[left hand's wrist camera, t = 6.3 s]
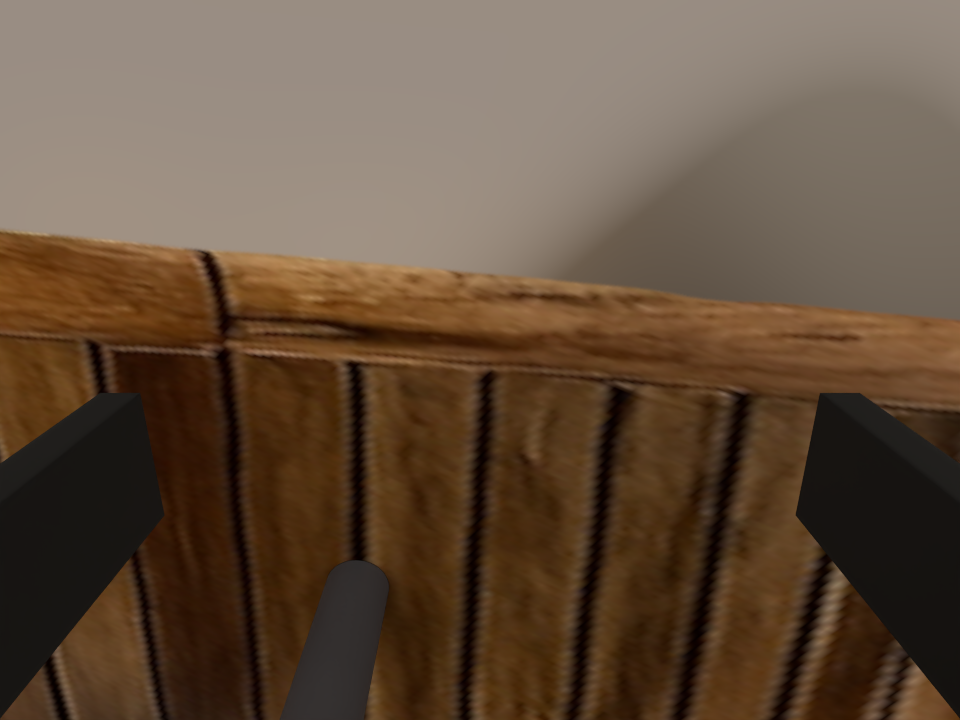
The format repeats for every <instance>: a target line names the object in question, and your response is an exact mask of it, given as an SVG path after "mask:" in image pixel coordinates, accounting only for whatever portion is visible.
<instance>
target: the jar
mask: <svg viewBox="0 0 960 720" xmlns="http://www.w3.org/2000/svg"><path fill="white" fill-rule="evenodd" d="M388 592H389V583H388V580H387V578H386V576H385V574H384V573H383V572H382V571H381V570H380V569H379V568H378V567H377V566H375V565H373V564H371V563H369V562H365V561H360V560H352V561H347V562H343V563H341V564H339V565H337V566H336V567H335V568H334V569H333V570H332V571H331V572H330V574H329V576H328V578H327V581H326V584H325V587H324V590H323V593H322V596H321V599H320V602H319V605H318V608H317V611H316V614H315V617H314V620H313V623H312V626H311V629H310V631H309V634H308V637H307V640H306V643H305V646H304V649H303V652H302V655H301V658H300V661H299V664H298V667H297V670H296V673H295V676H294V679H293V682H292V685H291V688H290V691H289V694H288V697H287V700H286V703H285V706H284V709H283V712H282V715H281V718H280V720H364V714H365V709H366V704H367V699H368V694H369V689H370V684H371V679H372V674H373V668H374V663H375V658H376V653H377V648H378V643H379V638H380V633H381V628H382V623H383V617H384V612H385V607H386V602H387V597H388Z"/></svg>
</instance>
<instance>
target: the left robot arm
mask: <svg viewBox="0 0 960 720" xmlns="http://www.w3.org/2000/svg"><path fill="white" fill-rule="evenodd" d="M163 516H164V511H163V506H162V501H161V496H160V491H159V486H158V481H157V476H156V471H155V466H154V461H153V456H152V451H151V446H150V441H149V436H148V431H147V426H146V421H145V416H144V411H143V406H142V401H141V396H140V393H100V394H98V395H97V396H95V397H94V398H93V399H91V400H90V401H88V402H87V403H86V404H84V405H83V406H81V407H80V408H79V409H77V410H76V411H74V412H73V413H71V414H70V415H69V416H67V417H66V418H64V419H63V420H62V421H60V422H59V423H57V424H56V425H54V426H53V427H52V428H50V429H49V430H47V431H46V432H45V433H43V434H42V435H40V436H39V437H37V438H36V439H35V440H33V441H32V442H30V443H29V444H28V445H26V446H25V447H23V448H22V449H21V450H19V451H18V452H16V453H15V454H13V455H12V456H11V457H9V458H8V459H6V460H5V461H4V462H2V463H1V464H0V718H1V717H2V715H3V714H4V713H5V712H6V710H7V709H8V708H9V707H10V706H11V704H12V703H13V702H14V701H15V699H16V698H17V697H18V696H19V694H20V693H21V692H22V691H23V689H24V688H25V687H26V686H27V684H28V683H29V682H30V681H31V680H32V678H33V677H34V676H35V675H36V673H37V672H38V671H39V670H40V668H41V667H42V666H43V665H44V663H45V662H46V661H47V660H48V659H49V657H50V656H51V655H52V654H53V652H54V651H55V650H56V649H57V647H58V646H59V645H60V644H61V642H62V641H63V640H64V639H65V637H66V636H67V635H68V634H69V633H70V631H71V630H72V629H73V628H74V626H75V625H76V624H77V623H78V621H79V620H80V619H81V618H82V616H83V615H84V614H85V613H86V611H87V610H88V609H89V608H90V607H91V605H92V604H93V603H94V602H95V600H96V599H97V598H98V597H99V595H100V594H101V593H102V592H103V590H104V589H105V588H106V587H107V586H108V584H109V583H110V582H111V581H112V579H113V578H114V577H115V576H116V574H117V573H118V572H119V571H120V569H121V568H122V567H123V566H124V564H125V563H126V562H127V561H128V560H129V558H130V557H131V556H132V555H133V553H134V552H135V551H136V550H137V548H138V547H139V546H140V545H141V543H142V542H143V541H144V540H145V539H146V537H147V536H148V535H149V534H150V532H151V531H152V530H153V529H154V527H155V526H156V525H157V524H158V522H159V521H160V520H161V519H162V517H163ZM796 516H797V517H798V519H799V520H800V521H801V522H802V524H803V525H804V526H805V527H806V529H807V530H808V531H809V532H810V534H811V535H812V536H813V537H814V539H815V540H816V541H817V542H818V543H819V545H820V546H821V547H822V548H823V550H824V551H825V552H826V553H827V555H828V556H829V557H830V558H831V560H832V561H833V562H834V563H835V564H836V566H837V567H838V568H839V569H840V571H841V572H842V573H843V574H844V576H845V577H846V578H847V579H848V581H849V582H850V583H851V584H852V586H853V587H854V588H855V589H856V590H857V592H858V593H859V594H860V595H861V597H862V598H863V599H864V600H865V602H866V603H867V604H868V605H869V607H870V608H871V609H872V610H873V612H874V613H875V614H876V615H877V616H878V618H879V619H880V620H881V621H882V623H883V624H884V625H885V626H886V628H887V629H888V630H889V631H890V633H891V634H892V635H893V636H894V637H895V639H896V640H897V641H898V642H899V644H900V645H901V646H902V647H903V649H904V650H905V651H906V652H907V654H908V655H909V656H910V657H911V659H912V660H913V661H914V662H915V663H916V665H917V666H918V667H919V668H920V670H921V671H922V672H923V673H924V675H925V676H926V677H927V678H928V680H929V681H930V682H931V683H932V684H933V686H934V687H935V688H936V689H937V691H938V692H939V693H940V694H941V696H942V697H943V698H944V699H945V701H946V702H947V703H948V704H949V706H950V707H951V708H952V709H953V710H954V712H955V713H956V714H957V715H958V717H959V718H960V464H959V463H958V462H956V461H955V460H954V459H952V458H951V457H949V456H948V455H947V454H945V453H944V452H942V451H941V450H939V449H938V448H937V447H935V446H934V445H932V444H931V443H930V442H928V441H927V440H925V439H924V438H923V437H921V436H920V435H918V434H917V433H915V432H914V431H913V430H911V429H910V428H908V427H907V426H906V425H904V424H903V423H901V422H900V421H898V420H897V419H896V418H894V417H893V416H891V415H890V414H889V413H887V412H886V411H884V410H883V409H881V408H880V407H879V406H877V405H876V404H874V403H873V402H872V401H870V400H869V399H867V398H866V397H865V396H863V395H862V394H860V393H820V396H819V401H818V406H817V411H816V416H815V421H814V426H813V431H812V436H811V441H810V446H809V451H808V456H807V461H806V466H805V471H804V476H803V481H802V486H801V491H800V496H799V501H798V506H797V511H796Z"/></svg>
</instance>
